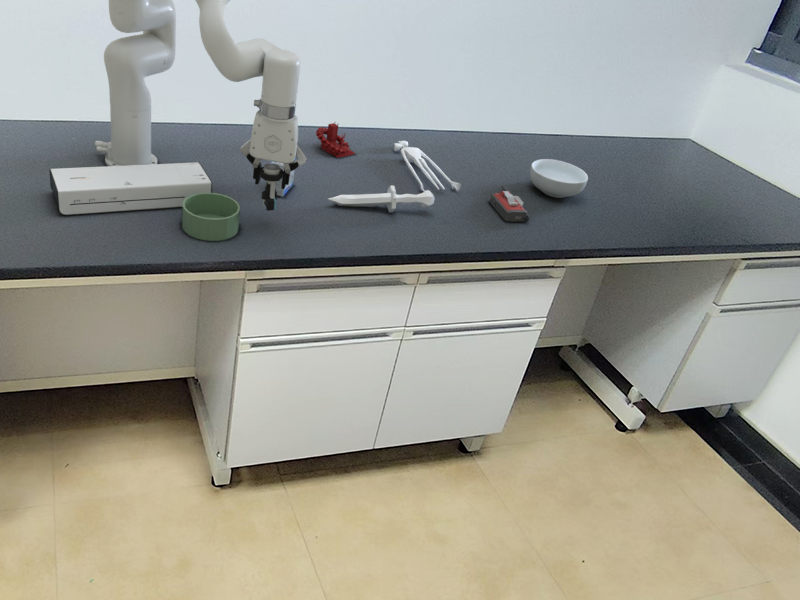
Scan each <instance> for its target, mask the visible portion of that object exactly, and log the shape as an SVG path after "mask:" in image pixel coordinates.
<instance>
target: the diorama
mask: <svg viewBox="0 0 800 600" xmlns="http://www.w3.org/2000/svg"><path fill="white" fill-rule="evenodd" d="M338 131H339V124H337V123H335V122H333V123H328V124H327V127H323V126H321V127H318V128H317V130H316V131H315V136H316V137H317V139H318V140H319V142H320V144H321V145H320V149H321V150H322V151H324V152H326V153H328V154H329V155H332V156H334V157H335V158H337V159H339V158H344V157H349V156H353V155H354V156H355V155H356V154H355V152H354V151H352V150H351V149H350V144H349V143H348V142H345V141H346V140H345V138H346V133H341V135H339V134H338ZM325 135H326V136H325Z"/></svg>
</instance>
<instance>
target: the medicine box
mask: <svg viewBox="0 0 800 600" xmlns="http://www.w3.org/2000/svg"><path fill="white" fill-rule="evenodd" d="M295 160H297V156H296V157H295ZM295 160H294V161H295ZM269 164H276V165H278V166H279V167H280V168H281V169H282V170H283V172H284V169H285V168H284V164H283V163H280V162H274V161H269ZM282 176H283V175H282ZM294 178H295V170H293V171H292V172H290V179H289V184H288V185H286V186H285V189H282V188H281V186H282V178H281V179H280V180H279V181H277V182H276V183H275V189H276V191H277V197H281V198H284V197H285V195H286V194H287V193H288V192H289V190H290V189H291V188H292V187H293V186H294Z"/></svg>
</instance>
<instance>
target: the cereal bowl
mask: <svg viewBox="0 0 800 600" xmlns="http://www.w3.org/2000/svg"><path fill="white" fill-rule="evenodd" d="M529 178H530V181H531V182H532V184H533V186H534V187H536V188H537V189H538V190H540V191H541V193H543V194H544V195H546V196H549V197H552V198H556V199H564V198H566V197H568V198H569V197H574V196H577V195H579V194H580V193H581V192H583V191H584V189H585V188H586V185H587V183H588V180H589V176H588V173H586V172H585V171H584V170H583V169H581V168H580V167H578V166H577V165H575V164H572V163H569V162H565V161H563V160H558V159H551V158H542V159H536V160H534V161H533V162H531V165H530V170H529Z"/></svg>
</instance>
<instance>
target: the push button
mask: <svg viewBox="0 0 800 600" xmlns="http://www.w3.org/2000/svg"><path fill="white" fill-rule="evenodd" d="M282 175H283V170H282V169H281V168H280V167H279V166H278V165H276V164H270V163H266V164H264V165H263V166H262V168H260V176H261V179H262V180H264V181H265V184H266V185H265V188H264V190H263V191H262V192H261V200H262V207H265V208H266V211H268V212H270V211H277V202H278V198H277V197H278V196H277V191H276V189H275V183H276V182H277V181H279V180H280V179H281V178H282Z"/></svg>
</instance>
